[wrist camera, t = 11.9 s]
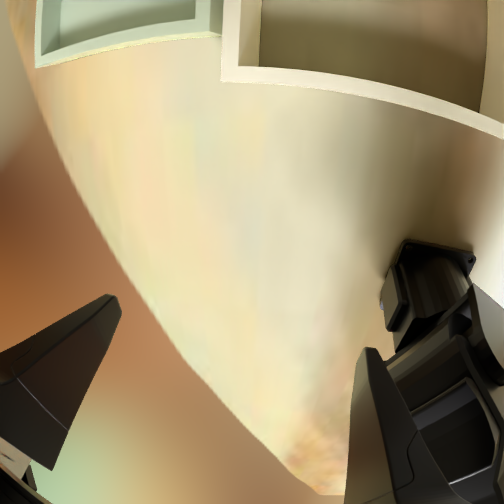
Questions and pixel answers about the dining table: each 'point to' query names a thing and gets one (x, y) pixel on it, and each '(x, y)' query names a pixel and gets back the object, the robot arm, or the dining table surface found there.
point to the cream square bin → (248, 71)
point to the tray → (118, 25)
